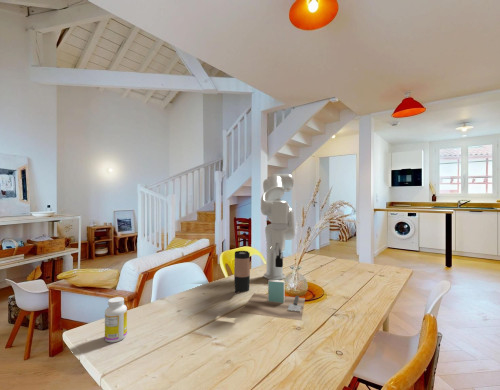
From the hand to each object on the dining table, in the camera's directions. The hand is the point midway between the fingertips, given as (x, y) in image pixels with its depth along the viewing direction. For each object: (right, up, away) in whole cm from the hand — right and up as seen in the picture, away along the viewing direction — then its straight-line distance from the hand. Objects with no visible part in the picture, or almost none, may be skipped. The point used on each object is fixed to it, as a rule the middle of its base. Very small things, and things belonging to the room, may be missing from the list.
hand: (279, 266), depth 122 cm
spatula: (+6, -14, -9) cm, 18 cm away
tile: (-2, -14, -6) cm, 15 cm away
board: (-3, -15, -10) cm, 18 cm away
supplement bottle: (-58, -15, -34) cm, 69 cm away
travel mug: (-18, -15, +8) cm, 25 cm away
